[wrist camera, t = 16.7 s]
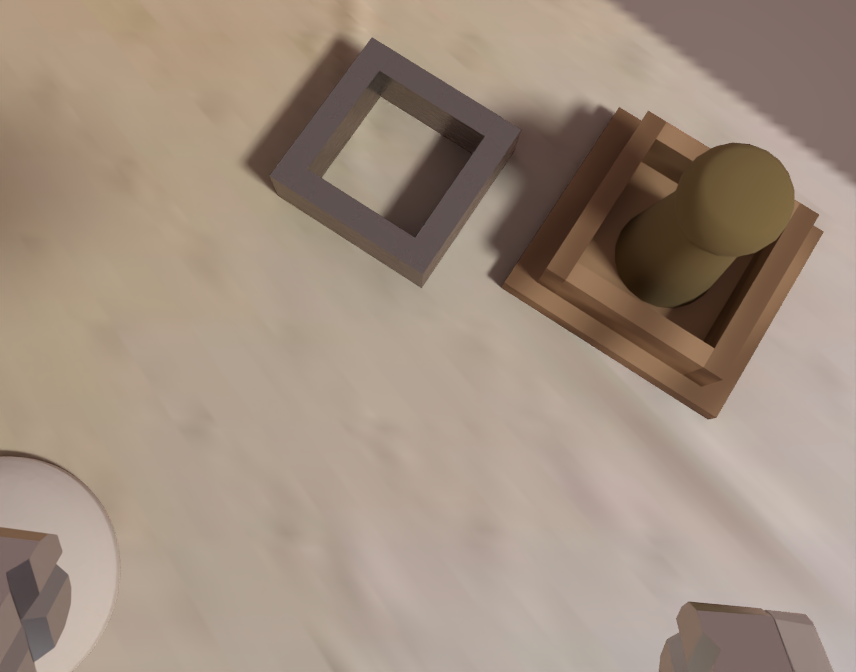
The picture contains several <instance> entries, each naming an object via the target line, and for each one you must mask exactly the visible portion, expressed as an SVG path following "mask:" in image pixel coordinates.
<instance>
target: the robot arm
mask: <svg viewBox="0 0 856 672" xmlns="http://www.w3.org/2000/svg"><path fill="white" fill-rule="evenodd" d="M62 552H63V551H62V548H61V545H60V541H59V538H58V535H56V534H48V533H41V532H34V531H26V530H19V529H11V528H4V527H0V672H37V671H36V667H35V661H37V660H38V659H40V658H41V657H42V656H44V655H45V654H46V653H48V652H49V651H51V650H52V649H53V648H55V646H56V644H57V642H58V640H59V638H60V636H61V634H62V632H63V630H64V628H65V624H66V621H67V617H68V613H69V609H70V606H71V583H70V579H69V575H68V574H67V573H66V572H65V571H64V570H63V569H61V568H60V567H59V566H58V565H57V564H56V563H57V562H58V560H59V558H60V556H61V554H62ZM676 620H677V624H678V628H679V633H677V634H676V635H674V636H672V637H670V638H669V639H667V640H666V643H665V645H664V648H663V650H662V653H661V656H660V665H659V672H834V671H833V669H832V667H831V664H830V662H829V659H828V657H827V655H826V652H825V650H824V648H823V645H822V643H821V640H820V638H819V636H818V633H817V631H816V628H815V626H814V624H813V622H812V621H811V620H810V619H809V618H808V616H807V615H806V614H800V613H790V612H780V611H771V610H763V609H761V608H751V607H740V606H729V605H719V604H708V603H697V602H687V603H686V604H685V605H683V606H682V607H681V609H680V612H679V614H678V616H677V618H676Z"/></svg>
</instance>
